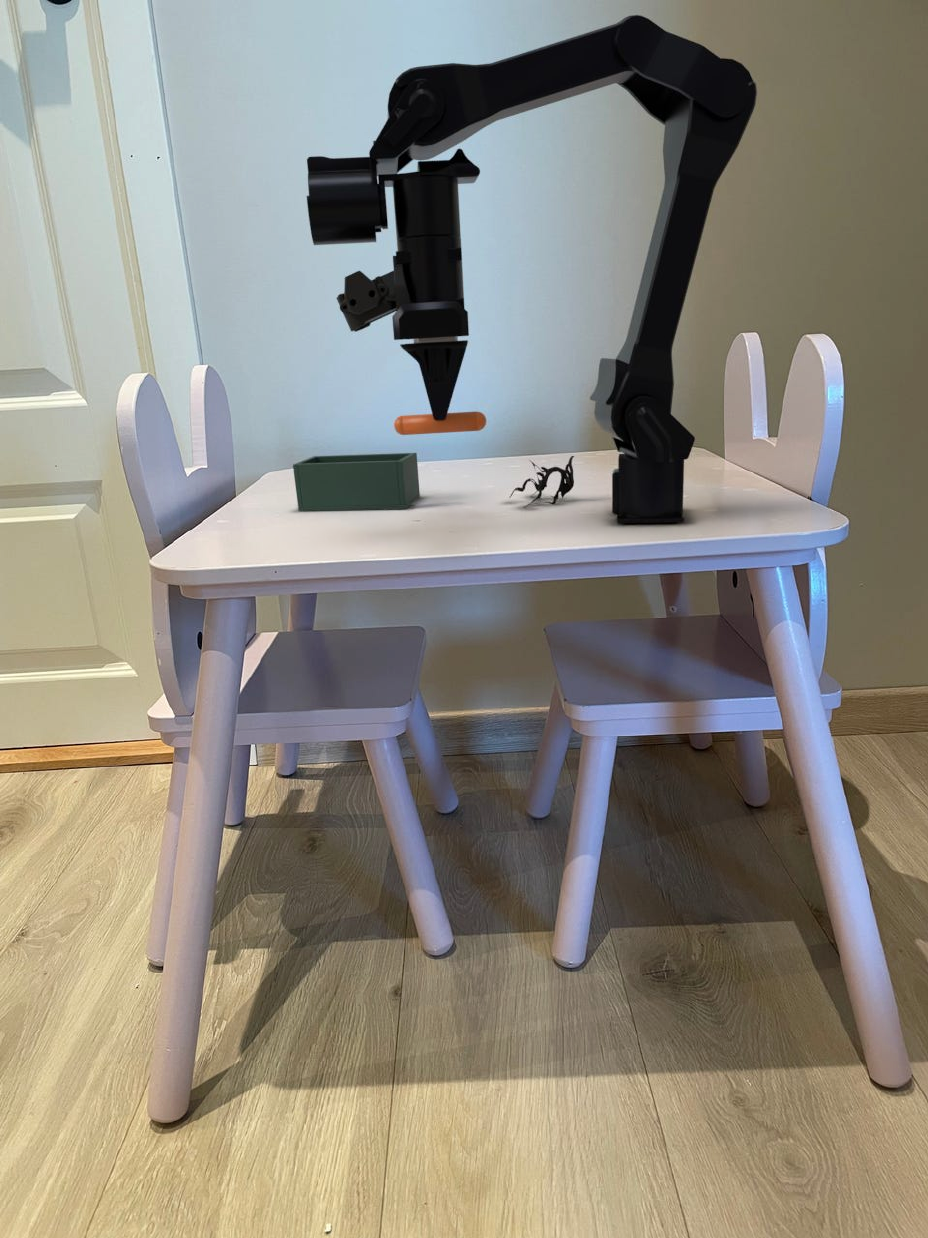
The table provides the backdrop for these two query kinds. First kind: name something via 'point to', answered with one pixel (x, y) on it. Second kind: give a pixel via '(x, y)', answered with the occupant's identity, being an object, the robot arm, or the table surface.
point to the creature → (542, 484)
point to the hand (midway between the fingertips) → (440, 419)
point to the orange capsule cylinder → (440, 423)
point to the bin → (357, 482)
